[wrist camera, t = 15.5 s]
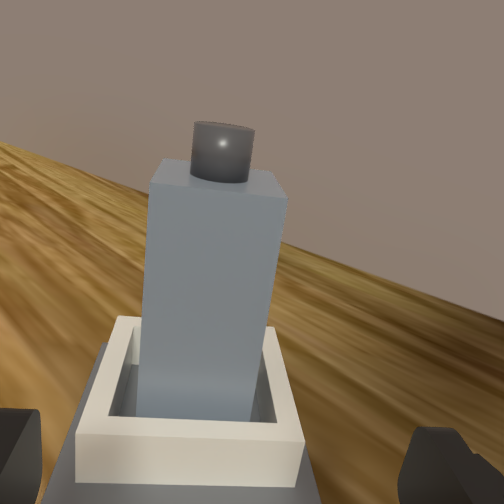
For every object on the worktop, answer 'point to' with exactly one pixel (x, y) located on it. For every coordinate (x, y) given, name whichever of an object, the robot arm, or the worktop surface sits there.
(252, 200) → the grey-blue square bottle
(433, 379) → the worktop surface
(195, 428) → the socket block
